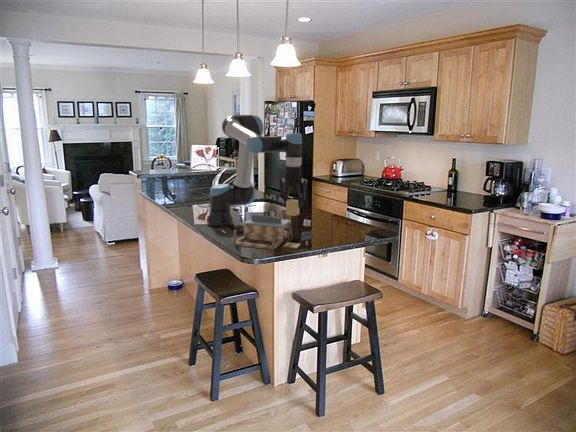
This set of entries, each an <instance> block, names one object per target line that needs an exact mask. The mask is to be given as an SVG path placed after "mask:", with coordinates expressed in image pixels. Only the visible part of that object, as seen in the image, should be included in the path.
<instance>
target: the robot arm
mask: <svg viewBox="0 0 576 432" xmlns="http://www.w3.org/2000/svg"><path fill="white" fill-rule="evenodd" d="M221 124H222V125H221V130H222V133H223V134H224V135H225V136H227V137H228V138H231V139H235V140H237V141H238V142H239V147H238V155H237V166H236V176H235V180H233V182H232V185H230V184H229V183H220V184H215V185H213V186H210V189H209V202H210V203H209V209H210V211H209V215H208V218H207V226H209V225H211V226H210V227H212V226H219V227H218V228H225V227H231V226H233V225H234V218H233V216H232V213H231V207H233V206H234V207H236V206H247V205H250V204H252V203H253V202H254V200H255V197H256V189H255V187H254V185H253V183H252V182H251V178H252V170H253V161H254V155H255V154H262V153H263V154H264V153H285V175H284V177H282V178H281V177H280V178H279V180H278V181H279V183H280V184H279V185H280V200H283V201H284V202H283V203H284V208H285V214H286V215H287V201H288V200H289V195H290V192H291V188H292V186H294V188H295V191H296V196H297V200H298V201H297V211H296V216H299V215H300V209H301V208H302V205H303V204H302V203H303V201H305V200H306V194H307V193H306V192H307V183H308V179H304V178H303V177H302V161H303V159H302V155H303V138H302V137H303V135H302V134H301V133H300V132H287V133H286V134H285V136H283V135H280V136H279V135H278V136H262V135H263V133H264V123H263V121H262V119H261V117H260V116H258V115H254V114H253V115H252V114H231V115H228V116H227V117H226V118H224V120H222V123H221ZM285 182H286V183H287V185H286V191H285ZM300 183H301V184H302V185H301V188H300Z"/></svg>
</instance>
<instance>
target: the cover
mask: <svg viewBox="0 0 576 432" xmlns="http://www.w3.org/2000/svg"><path fill="white" fill-rule="evenodd" d="M289 222H291V223H292V220H291V219H284V218H283V219H282V217H281V216H271V215H256V214H252V215H251V218H250V219H248V220H246V221H244V222H243V225H244V224H249V225H260V226H271V227H284V226H285V225H287V224H288V223H289Z"/></svg>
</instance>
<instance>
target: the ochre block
mask: <svg viewBox="0 0 576 432" xmlns="http://www.w3.org/2000/svg"><path fill="white" fill-rule="evenodd" d="M297 201H298V199H292V198H291V199H288V201H287V214H286V216H290V217H291V216H293V217H296V216H297V215H296V211H297Z"/></svg>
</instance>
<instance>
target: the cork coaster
mask: <svg viewBox="0 0 576 432" xmlns="http://www.w3.org/2000/svg"><path fill="white" fill-rule="evenodd" d="M301 245H302V243H298V242H297V243H296V242H290V241H289V242H288V241H287V242H286V243H285V244H284V245H283V246H282V247H283V248H288V249H298V248H300V246H301Z"/></svg>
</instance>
